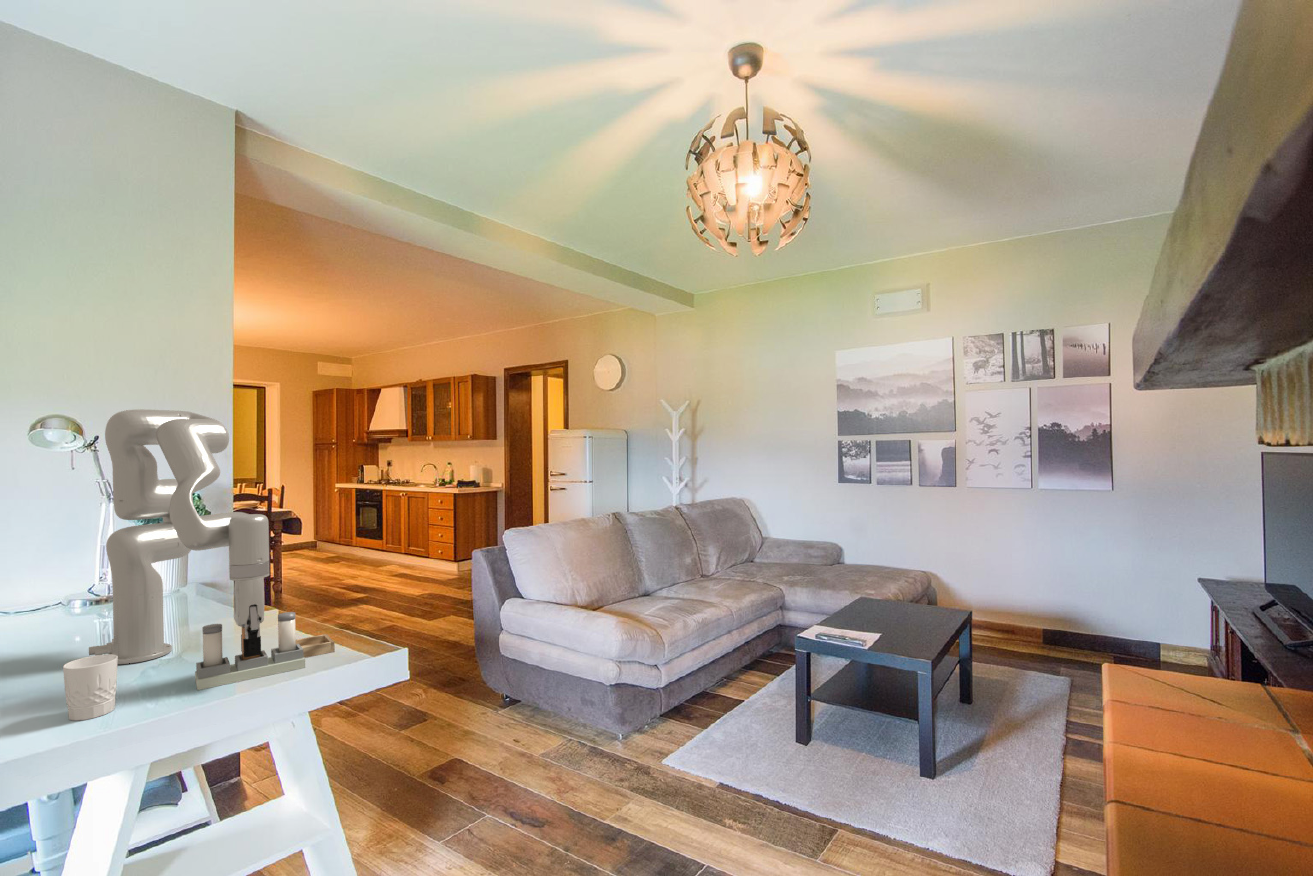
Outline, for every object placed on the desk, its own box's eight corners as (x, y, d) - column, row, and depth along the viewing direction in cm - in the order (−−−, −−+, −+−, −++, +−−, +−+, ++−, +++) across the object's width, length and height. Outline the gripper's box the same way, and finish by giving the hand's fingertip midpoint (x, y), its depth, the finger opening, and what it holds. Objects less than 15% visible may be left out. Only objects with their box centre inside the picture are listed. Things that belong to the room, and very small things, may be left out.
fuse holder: (197, 690, 134) (197, 671, 134) (195, 680, 140) (194, 662, 140) (305, 667, 147) (304, 650, 147) (299, 659, 152) (299, 642, 152)
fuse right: (279, 661, 145) (279, 617, 145) (277, 657, 148) (276, 614, 148) (297, 658, 147) (296, 614, 147) (294, 654, 150) (293, 611, 150)
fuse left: (203, 676, 137) (203, 629, 137) (202, 672, 139) (201, 626, 139) (223, 672, 139) (222, 626, 139) (222, 668, 141) (221, 622, 141)
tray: (295, 659, 152) (295, 649, 152) (288, 650, 159) (288, 641, 159) (334, 651, 158) (334, 641, 158) (326, 643, 164) (326, 634, 164)
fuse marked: (243, 669, 141) (242, 623, 141) (241, 664, 144) (240, 619, 144) (261, 665, 143) (260, 620, 143) (259, 661, 146) (258, 616, 146)
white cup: (128, 707, 126) (127, 656, 126) (81, 724, 119) (80, 670, 119) (101, 703, 129) (100, 652, 129) (53, 719, 121) (52, 666, 121)
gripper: (225, 567, 147) (227, 648, 147) (233, 579, 135) (235, 667, 135) (263, 563, 152) (265, 641, 152) (275, 573, 139) (276, 659, 139)
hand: (251, 652), depth 143 cm, fingers closed on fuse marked, 3 cm apart
